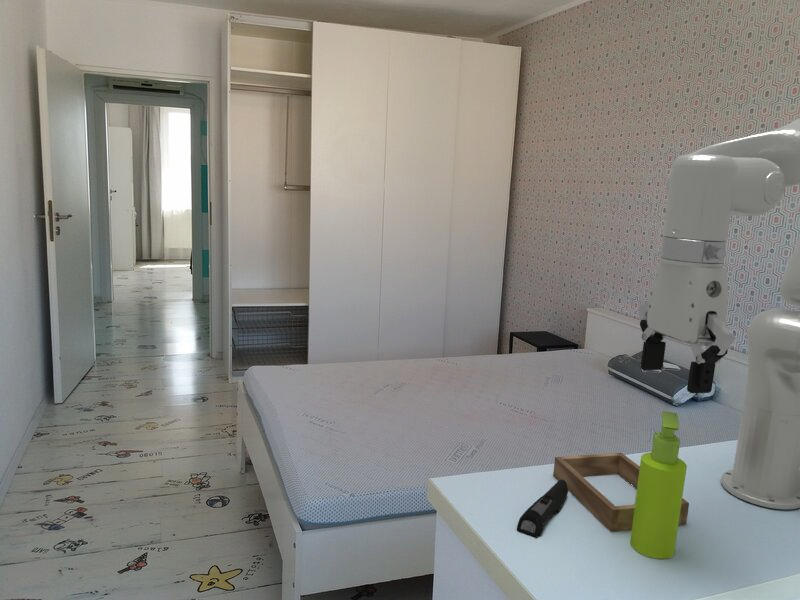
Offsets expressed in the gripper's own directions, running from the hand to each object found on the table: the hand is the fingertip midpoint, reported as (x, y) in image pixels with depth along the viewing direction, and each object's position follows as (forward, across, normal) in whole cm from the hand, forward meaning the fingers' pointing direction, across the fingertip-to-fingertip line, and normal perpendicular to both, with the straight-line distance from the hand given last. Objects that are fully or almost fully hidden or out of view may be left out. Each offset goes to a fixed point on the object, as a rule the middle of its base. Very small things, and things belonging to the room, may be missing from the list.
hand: (673, 380), depth 85 cm
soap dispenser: (+25, 0, -1) cm, 25 cm away
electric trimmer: (+26, +12, +10) cm, 30 cm away
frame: (+25, +14, -4) cm, 29 cm away
